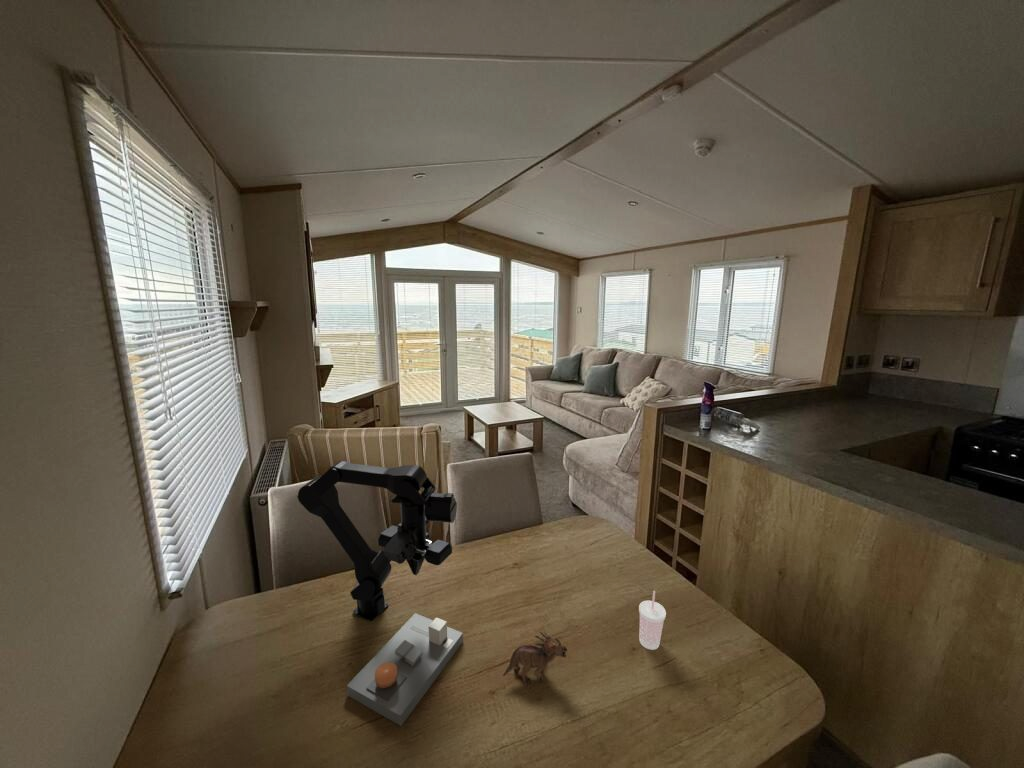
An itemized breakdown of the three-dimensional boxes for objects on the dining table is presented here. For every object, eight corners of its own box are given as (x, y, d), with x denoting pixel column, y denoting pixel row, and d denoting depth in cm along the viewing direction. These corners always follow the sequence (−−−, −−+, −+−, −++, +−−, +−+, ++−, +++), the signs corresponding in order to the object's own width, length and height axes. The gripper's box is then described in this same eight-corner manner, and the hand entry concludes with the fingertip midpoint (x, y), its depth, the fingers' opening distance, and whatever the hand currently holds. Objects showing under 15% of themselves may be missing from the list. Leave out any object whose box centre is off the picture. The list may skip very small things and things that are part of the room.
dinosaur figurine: (558, 656, 96) (560, 622, 94) (566, 679, 90) (567, 643, 88) (499, 664, 93) (500, 629, 91) (503, 688, 88) (503, 652, 86)
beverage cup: (667, 641, 100) (672, 590, 97) (655, 657, 96) (661, 604, 93) (643, 627, 104) (647, 578, 101) (631, 642, 100) (635, 591, 97)
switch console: (347, 695, 86) (346, 684, 85) (415, 621, 105) (415, 612, 105) (401, 726, 80) (400, 714, 79) (462, 641, 99) (462, 631, 99)
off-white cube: (429, 640, 96) (428, 626, 95) (436, 631, 99) (436, 617, 98) (439, 645, 95) (439, 630, 94) (447, 636, 98) (446, 621, 97)
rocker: (394, 654, 91) (395, 650, 91) (404, 643, 94) (404, 639, 94) (412, 666, 90) (413, 662, 89) (422, 654, 92) (422, 650, 92)
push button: (370, 686, 85) (370, 675, 84) (385, 669, 89) (385, 659, 88) (387, 695, 83) (386, 684, 82) (402, 677, 87) (401, 667, 86)
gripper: (359, 524, 98) (364, 582, 102) (424, 545, 90) (426, 607, 94) (392, 503, 108) (395, 556, 111) (452, 521, 100) (453, 577, 104)
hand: (415, 574), depth 105 cm, fingers closed
